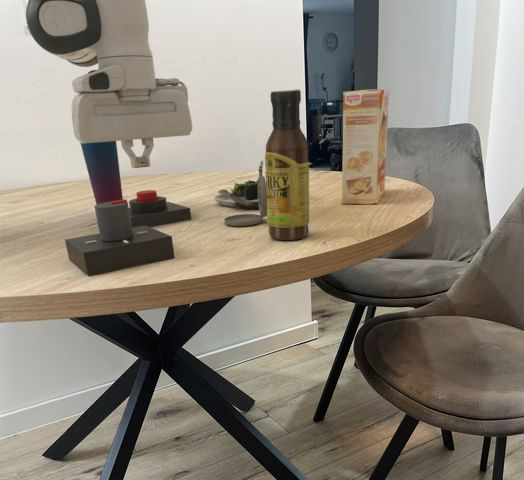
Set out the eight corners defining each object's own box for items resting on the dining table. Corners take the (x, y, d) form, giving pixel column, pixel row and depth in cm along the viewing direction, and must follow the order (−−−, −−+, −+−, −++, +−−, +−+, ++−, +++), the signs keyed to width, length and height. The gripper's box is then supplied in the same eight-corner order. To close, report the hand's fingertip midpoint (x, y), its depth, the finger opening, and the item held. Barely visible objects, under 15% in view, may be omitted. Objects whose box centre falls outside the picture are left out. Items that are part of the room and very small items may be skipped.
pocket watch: (217, 224, 89) (211, 163, 84) (254, 216, 93) (250, 158, 89) (246, 231, 83) (241, 166, 78) (284, 221, 87) (282, 159, 83)
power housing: (128, 231, 88) (124, 207, 86) (111, 222, 96) (107, 201, 94) (191, 220, 94) (189, 197, 92) (170, 213, 102) (167, 192, 100)
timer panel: (88, 276, 65) (83, 251, 64) (69, 260, 73) (64, 238, 72) (174, 257, 71) (171, 234, 69) (148, 244, 78) (145, 224, 77)
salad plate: (191, 205, 108) (188, 182, 106) (252, 192, 119) (251, 171, 117) (253, 214, 95) (251, 188, 93) (316, 198, 106) (315, 175, 104)
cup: (88, 217, 102) (71, 136, 96) (105, 210, 108) (90, 134, 102) (118, 217, 101) (103, 134, 94) (134, 210, 106) (121, 132, 100)
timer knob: (106, 243, 68) (99, 206, 66) (96, 237, 71) (89, 202, 69) (138, 237, 70) (132, 201, 68) (127, 232, 73) (120, 197, 71)
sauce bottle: (260, 237, 78) (251, 92, 70) (292, 230, 81) (287, 90, 73) (286, 244, 74) (279, 89, 65) (319, 236, 77) (317, 87, 68)
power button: (141, 204, 91) (140, 194, 90) (135, 201, 94) (133, 192, 93) (160, 201, 93) (159, 191, 92) (153, 199, 96) (152, 189, 95)
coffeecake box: (378, 204, 96) (382, 88, 88) (340, 204, 98) (341, 91, 90) (386, 191, 109) (390, 88, 100) (352, 191, 111) (354, 91, 103)
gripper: (178, 79, 92) (187, 160, 98) (61, 81, 82) (79, 172, 88) (193, 76, 87) (201, 162, 93) (71, 78, 77) (88, 174, 83)
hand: (141, 167), depth 90 cm, fingers closed
